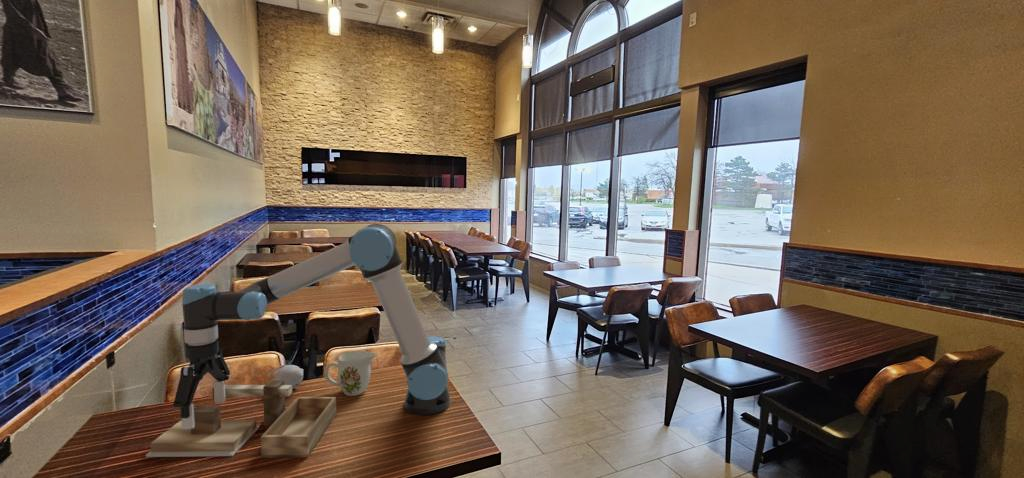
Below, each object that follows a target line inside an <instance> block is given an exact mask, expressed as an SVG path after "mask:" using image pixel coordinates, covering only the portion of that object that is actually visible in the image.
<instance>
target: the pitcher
mask: <svg viewBox="0 0 1024 478" xmlns="http://www.w3.org/2000/svg"><path fill="white" fill-rule="evenodd" d="M377 356H378V353H376V352H369V351H366V350H353V351H348V352H345V353H342V354H340V355H339V356H338V362H335V361H331V362H329V363H327V365H326V366H325V369H324V377H325V379H326V380H327V382H328V383H329V384H330V385H333V386H335V387H339V388H340V389H341V391H342V392H343V394H344V395H345V396H349V397H355V396H359V395H362V394H363V393H365V391H366V389H367V387H368V386H369V382H370V380H371V374H372V373H371V365H370V363H372V360H373V358H375V357H377ZM332 366H333V367H337V381H336V380H334V379H333V378H332V377H331V376H330V373H329V371H330V368H331V367H332Z"/></svg>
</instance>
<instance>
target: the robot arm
mask: <svg viewBox="0 0 1024 478" xmlns="http://www.w3.org/2000/svg"><path fill="white" fill-rule="evenodd" d="M346 239H347V240H346V241H345V242H343V243H341V244H339V245H337V246H335V247H332V248H330V249H328V250H326V251H324V252H321V253H319V254H317V255H314V256H313V257H310V258H308V259H306V260H303V261H302V262H299V263H297V264H295V265H293V266H290V267H287V268H286V269H283V270H281V271H278V272H276V273H274V274H272V275H270V276H268V277H265V278H263V279H260V280H256V281H255V282H253V283H251V284H250V285H248V286H247V287H245V288H243V289H241V290H239V291H236V292H235V291H234V292H233V291H232V292H218V290H217V286H216V285H215V284H208V283H202V284H201V283H200V284H192V285H190V286H186V287H185V288H184V289H183V290H182V298H181V299H182V301H181V302H182V303H181V306H182V318H183V333H184V337H183V339H184V343H185V344H184V356H185V358H186V359H188V361H189V365H188V366H182V367H180V376H179V377H180V378H179V380H178V381H179V382H178V385H177V388H176V391H175V396H174V400H173V405H172V406H173V407H172V408H179V411H180V419H181V420H182V429H193V428H194V427H195V422H194V408H195V404H194V403H192V402H193V399H194V396H195V395H196V391H197V389H198V387H199V385H200V381H201V380H203V378H204V377H205V375H207V373H208V374H209V375H211V377H212V378H213V379H215V380H214V381H213V387H214V398H213V399H214V400H213V401H214V404H225V403H226V398H227V397H225V385H226V381H229V380H230V374H231V371H230V369H229V367H228V365H227V362H226V360H225V358H224V355H223V350H222V349H220V348H219V347H220V346H219V340H218V338H219V327H218V321H239V320H240V321H241V320H242V321H251V320H259V319H262V318H263V317H264V316H265V313H266V312H267V308H268V307H267V306H268V305H270V304H272V303H274V302H276V301H278V300H280V299H283V298H284V297H286V296H289V295H291V294H293V293H295V292H297V291H300V290H302V289H304V288H308V287H309V286H311V285H313V284H315V283H318V282H320V281H322V280H325V279H326V278H329V277H331V276H333V275H336V274H338V273H339V272H342V271H344V270H346V269H349V268H351V267H353V266H357V267H358V268H359V270H360V273H361V275H362V277H363V279H364V280H366V281H369V282H370V283H371V284H372V286H373V288H374V290H375V294H376V296H377V297H378V299H379V302H380V304H381V307H382V309H383V311H384V314H385V316H386V319H387V321H388V323H389V325H390V328H391V330H392V332H393V334H394V336H395V339H396V341H397V343H398V346H399V348H400V350H401V354H402V355H401V358H400V360H399V361H400V365H401V366H402V369H403V371H404V373H405V376H406V378H407V380H406V385H407V391H406V393H405V397H404V408H405V410H406V411H407V412H409V413H411V414H414V415H419V416H429V415H435V414H438V413H441V412H444V411H445V410H446V409H448V408H449V407H450V405H451V395H450V392H449V389H448V381H449V373H448V366H447V360H446V358H447V357H446V354H447V353H446V351H447V349H446V348H447V343H446V339H445V338H443V337H440V336H435V335H431V336H429V335H428V334H427V331H426V329H425V326H424V324H423V322H422V319H421V317H420V315H419V313H418V310H417V308H416V305H415V302H414V301H413V298H412V295H411V294H410V291H409V289H408V287H407V284H406V281H405V278H404V276H403V274H402V272H401V268H402V266H403V261H402V258H401V255H400V253H399V250H398V249H397V238H396V235H395V233H394V232H393V230H392V229H391V228H390V227H389V226H387V225H384V224H381V223H372V224H369V225H366V226H365V227H363V228H361V229H359V230H358V231H357V232H356V233H355V234H353V235H352V236H349V237H347V238H346Z"/></svg>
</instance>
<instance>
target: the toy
mask: <svg viewBox="0 0 1024 478" xmlns="http://www.w3.org/2000/svg"><path fill="white" fill-rule="evenodd" d="M276 371H277V372H276ZM275 372H276V373H275ZM274 373H275V375H274V378H273V380H284V385H292V390H294V389H296V388H297V387H298V386H299V385H300V384H301V383H303V382H304V369H303V368H300V366H297V365H294V364H284V365H280V366H278V367H276V368H274V369H272V370H271V371H270V372H269V373H268V374H267V377H270V375H272V374H274Z"/></svg>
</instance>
